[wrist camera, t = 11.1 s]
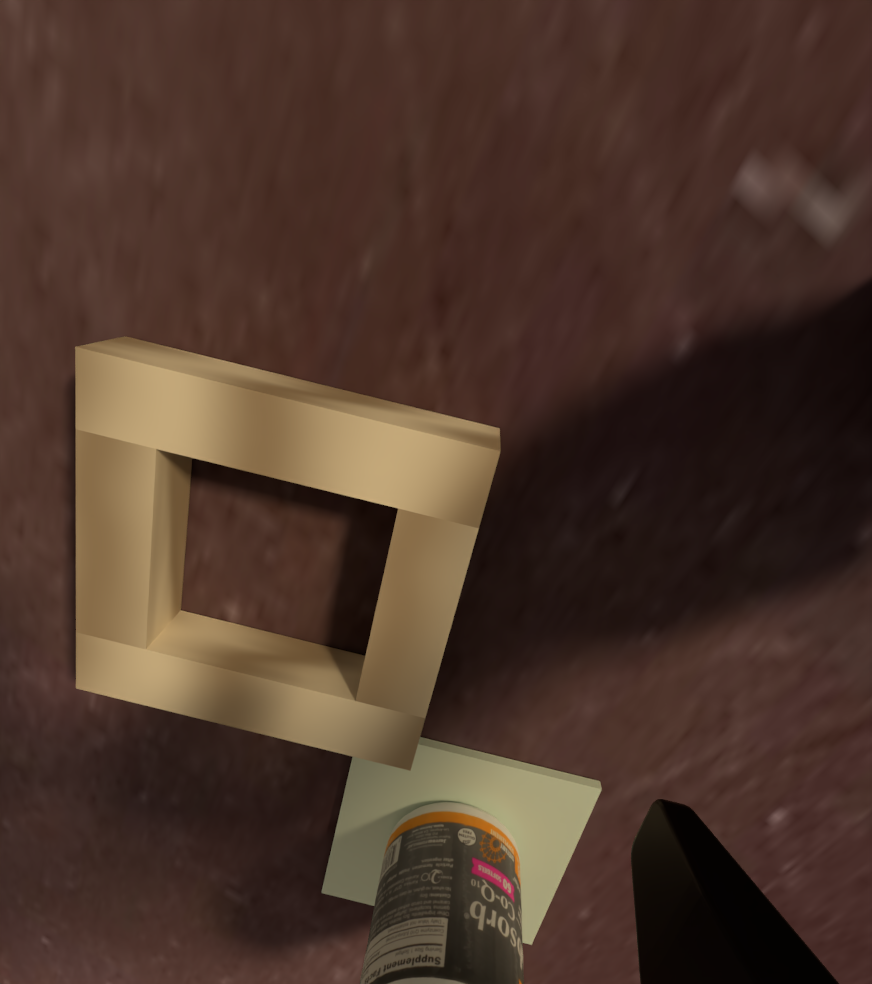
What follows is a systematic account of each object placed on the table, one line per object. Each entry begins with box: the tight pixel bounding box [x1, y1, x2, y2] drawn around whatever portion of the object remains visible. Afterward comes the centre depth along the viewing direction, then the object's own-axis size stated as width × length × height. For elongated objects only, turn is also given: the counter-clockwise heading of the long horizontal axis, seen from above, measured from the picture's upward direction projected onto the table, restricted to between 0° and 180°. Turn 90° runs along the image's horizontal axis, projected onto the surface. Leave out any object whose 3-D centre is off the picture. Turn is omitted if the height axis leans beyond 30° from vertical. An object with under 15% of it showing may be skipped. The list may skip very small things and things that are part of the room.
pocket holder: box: [75, 336, 501, 771], centre depth 21 cm, size 12×12×2 cm
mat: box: [321, 737, 602, 945], centre depth 26 cm, size 10×10×1 cm
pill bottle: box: [360, 802, 524, 984], centre depth 21 cm, size 6×6×10 cm
